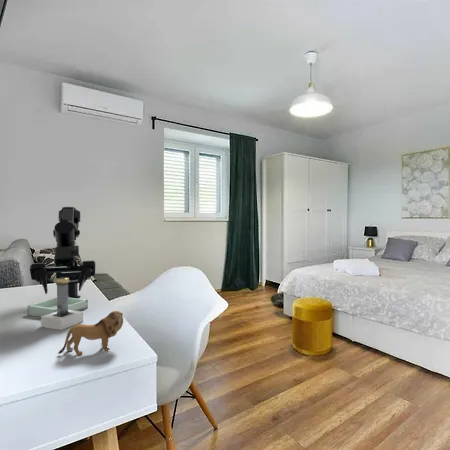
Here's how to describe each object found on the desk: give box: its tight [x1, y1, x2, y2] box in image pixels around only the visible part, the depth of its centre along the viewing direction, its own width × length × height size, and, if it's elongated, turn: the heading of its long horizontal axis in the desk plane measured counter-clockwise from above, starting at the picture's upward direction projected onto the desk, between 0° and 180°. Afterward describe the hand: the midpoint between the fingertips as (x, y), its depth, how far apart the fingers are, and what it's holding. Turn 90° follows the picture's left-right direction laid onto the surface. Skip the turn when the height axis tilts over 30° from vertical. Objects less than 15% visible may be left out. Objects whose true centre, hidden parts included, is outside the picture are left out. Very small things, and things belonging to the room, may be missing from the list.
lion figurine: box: [57, 310, 124, 356], centre depth 72 cm, size 15×5×9 cm, turn 116°
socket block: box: [40, 310, 84, 331], centre depth 90 cm, size 8×8×3 cm
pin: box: [55, 277, 69, 317], centre depth 90 cm, size 4×4×14 cm
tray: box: [27, 297, 89, 318], centre depth 103 cm, size 13×13×3 cm
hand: (63, 291), depth 92 cm, fingers open, 9 cm apart
